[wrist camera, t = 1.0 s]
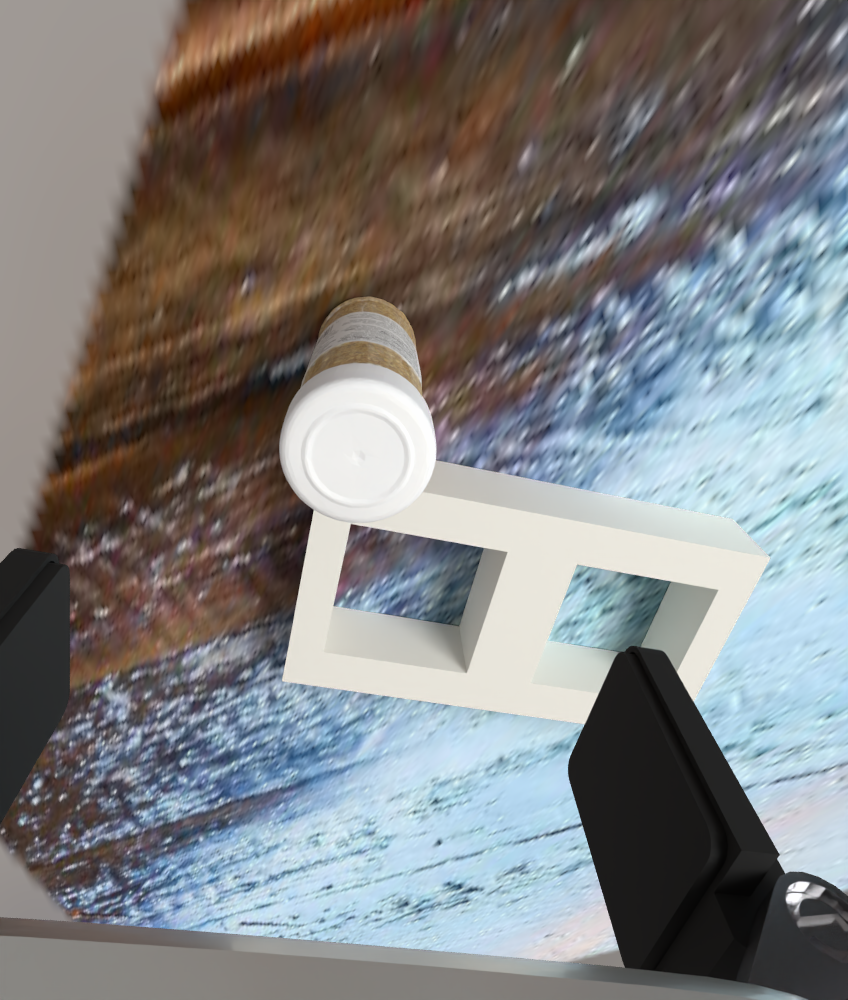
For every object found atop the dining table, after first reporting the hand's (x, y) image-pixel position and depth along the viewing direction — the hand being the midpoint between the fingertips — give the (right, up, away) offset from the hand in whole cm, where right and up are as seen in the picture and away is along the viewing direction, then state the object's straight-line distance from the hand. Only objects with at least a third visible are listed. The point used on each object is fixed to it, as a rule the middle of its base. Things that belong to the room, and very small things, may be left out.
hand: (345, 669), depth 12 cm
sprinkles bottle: (-1, +10, +20) cm, 22 cm away
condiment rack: (+6, -1, +26) cm, 27 cm away
